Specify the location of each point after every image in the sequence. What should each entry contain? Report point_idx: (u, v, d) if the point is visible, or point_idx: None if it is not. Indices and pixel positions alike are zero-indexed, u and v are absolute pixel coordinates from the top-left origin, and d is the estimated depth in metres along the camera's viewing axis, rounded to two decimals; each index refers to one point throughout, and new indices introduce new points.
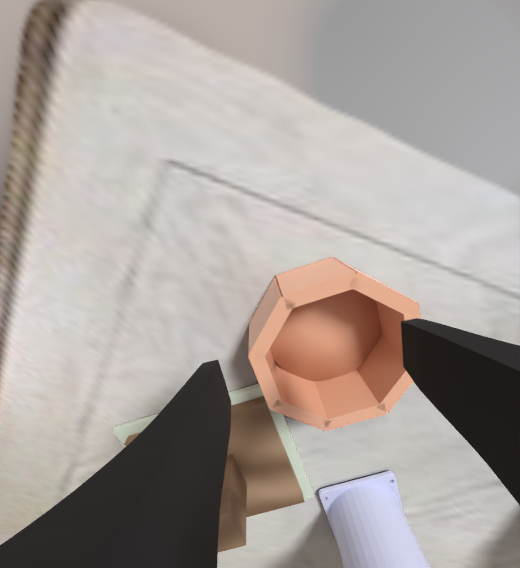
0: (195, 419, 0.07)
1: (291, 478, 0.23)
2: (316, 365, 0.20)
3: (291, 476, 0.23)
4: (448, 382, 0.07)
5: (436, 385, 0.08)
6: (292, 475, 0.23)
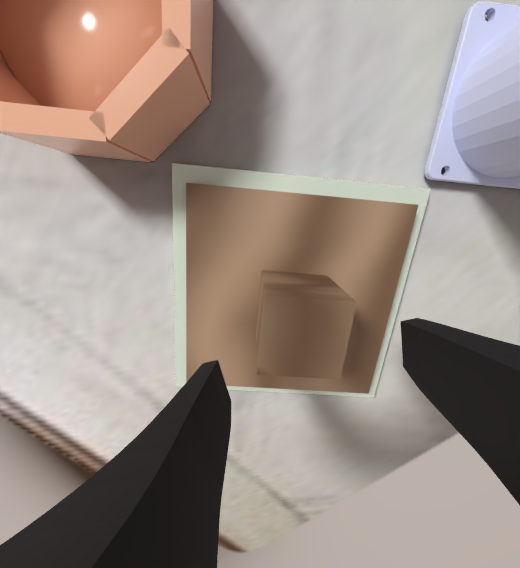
0: (195, 419, 0.07)
1: (356, 203, 0.14)
2: None
3: (351, 202, 0.14)
4: (448, 382, 0.07)
5: (436, 385, 0.08)
6: (349, 200, 0.14)
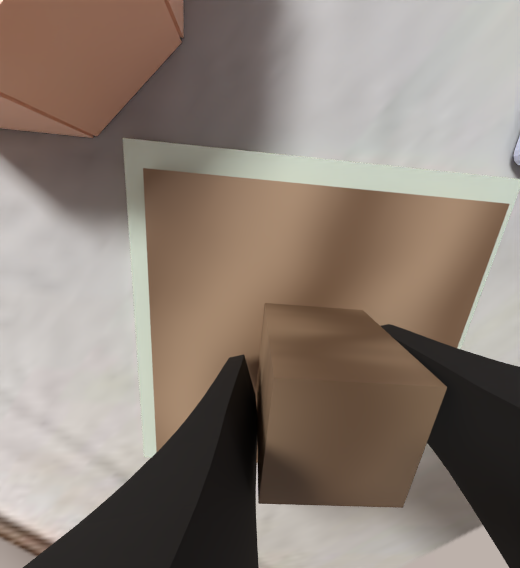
0: (232, 412, 0.06)
1: (413, 202, 0.09)
2: None
3: (405, 200, 0.09)
4: None
5: None
6: (403, 196, 0.09)
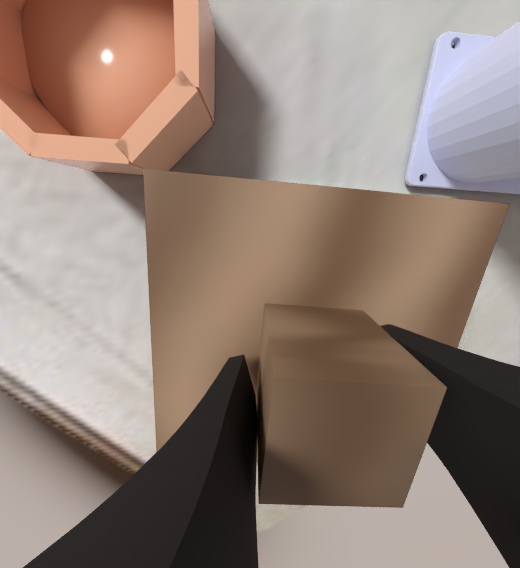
0: (232, 412, 0.06)
1: (412, 202, 0.09)
2: None
3: (404, 200, 0.09)
4: None
5: None
6: (403, 196, 0.09)
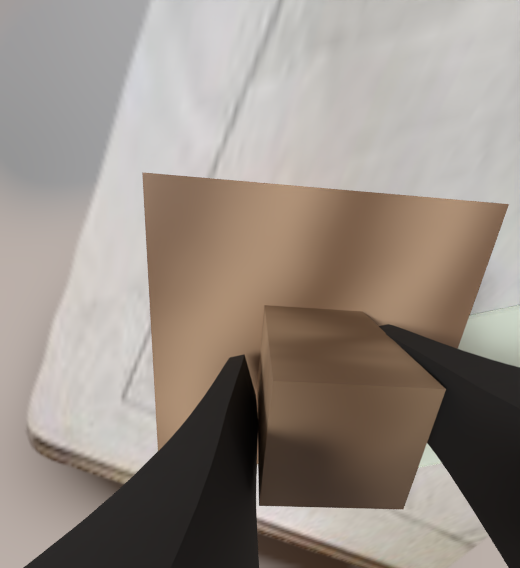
0: (233, 411, 0.06)
1: (411, 203, 0.09)
2: None
3: (403, 201, 0.09)
4: None
5: None
6: (402, 198, 0.09)
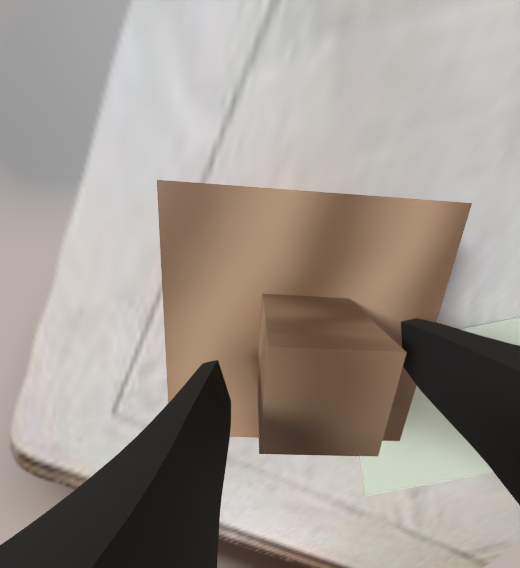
0: (195, 419, 0.07)
1: (387, 204, 0.10)
2: None
3: (381, 202, 0.10)
4: (448, 382, 0.07)
5: (436, 385, 0.08)
6: (379, 198, 0.10)
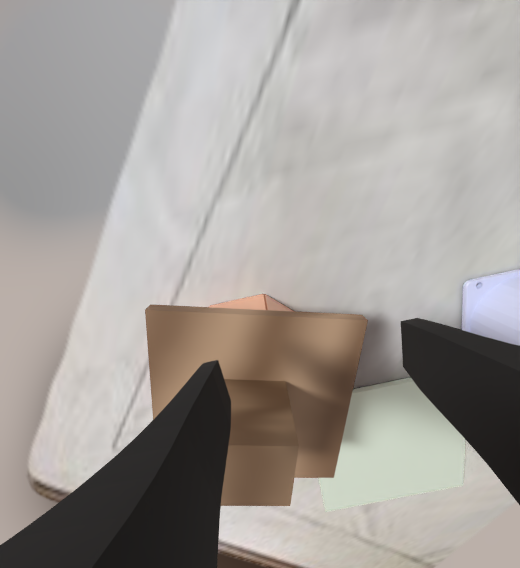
0: (195, 419, 0.07)
1: (308, 321, 0.14)
2: None
3: (303, 320, 0.14)
4: (448, 382, 0.07)
5: (436, 385, 0.08)
6: (302, 318, 0.14)
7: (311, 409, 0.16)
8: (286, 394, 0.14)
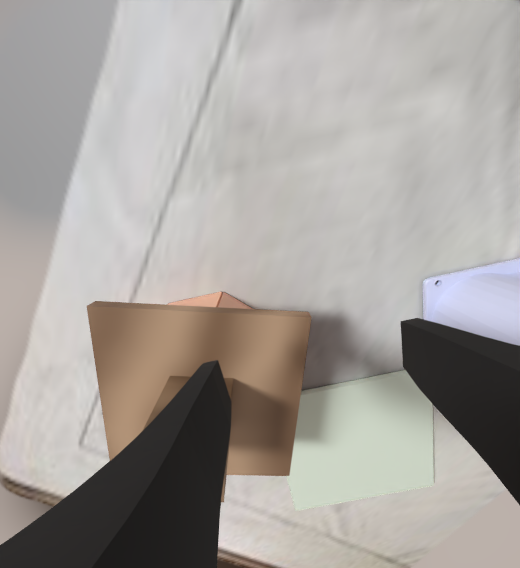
0: (195, 419, 0.07)
1: (251, 318, 0.14)
2: None
3: (246, 317, 0.14)
4: (448, 382, 0.07)
5: (436, 385, 0.08)
6: (245, 315, 0.14)
7: (261, 406, 0.16)
8: (229, 391, 0.14)
